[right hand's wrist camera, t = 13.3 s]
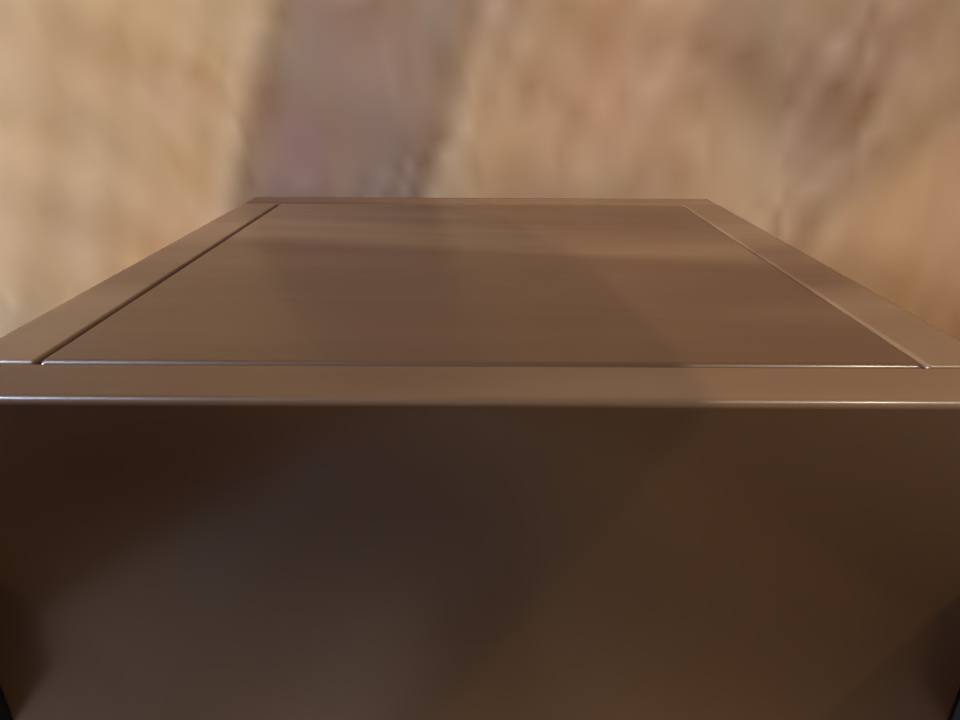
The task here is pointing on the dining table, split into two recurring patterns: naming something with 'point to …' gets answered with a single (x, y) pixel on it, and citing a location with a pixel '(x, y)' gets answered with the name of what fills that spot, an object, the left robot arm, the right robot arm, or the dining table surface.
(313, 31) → the dining table surface
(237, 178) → the dining table surface
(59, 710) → the cabinet
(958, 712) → the right robot arm
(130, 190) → the dining table surface
